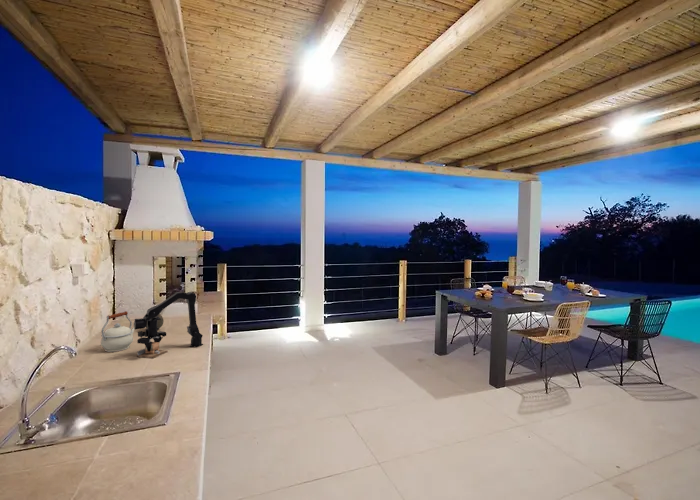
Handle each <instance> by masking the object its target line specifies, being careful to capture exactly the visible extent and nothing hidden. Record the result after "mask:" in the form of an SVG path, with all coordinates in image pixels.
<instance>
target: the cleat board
mask: <svg viewBox="0 0 700 500" xmlns="http://www.w3.org/2000/svg"><path fill="white" fill-rule="evenodd" d="M166 353H168V350H164V349H159V351H155V350H154V354H150V353H145V348H143V349H141V350H137V351H136V354H137V356H136V357H138V358H144V359H145V358H146V359H154V358H157V357H159V356H162V355H165V354H166Z"/></svg>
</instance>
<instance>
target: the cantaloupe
mask: <svg viewBox="0 0 700 500" xmlns="http://www.w3.org/2000/svg"><path fill="white" fill-rule="evenodd" d="M158 317H159V318H161V320H157V328H159V329H160V328H162V327H163V324H164V322H165V321H164V320H165V319H164V317H163V316H162V314H161V313H160V314H159V315H158ZM145 329H147V326H146V327H145Z"/></svg>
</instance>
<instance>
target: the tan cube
mask: <svg viewBox="0 0 700 500" xmlns="http://www.w3.org/2000/svg"><path fill="white" fill-rule="evenodd" d="M151 342H152V345H151V349H150V351H148V350H147V348H146V346H144V347H145V348H144V349H145V353H150V354H154V350H155V351H159V350H160V343H158V342H154V341H151Z"/></svg>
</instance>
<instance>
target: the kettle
mask: <svg viewBox="0 0 700 500" xmlns="http://www.w3.org/2000/svg"><path fill="white" fill-rule="evenodd" d="M128 314H129V312H128V311H122V312H118V313H114V314H109V315H106V322H105V324H104V325H103V327H102V329H101V339H100V346H101V347H102V348H103V349H104V351H105V352H109V353H114V352H121V351H125V350H127V349H129V348H130V345H131V344H132V343H133V341H134V337H133V334H134V332H135V330H134V327H132V325H133V323H132V320H131V319H130V318H129V316H128ZM123 316H125V318H126V319H127V320H128V321H129V326H125V325H121V323H118V322H117V323H115V324H114V325H113V326H112V327H109V328H107V329H106V330H105V328H106V326H107V325H108V323H109V322H110V321H109V320H111V319H115V318H120V317H123Z"/></svg>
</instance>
